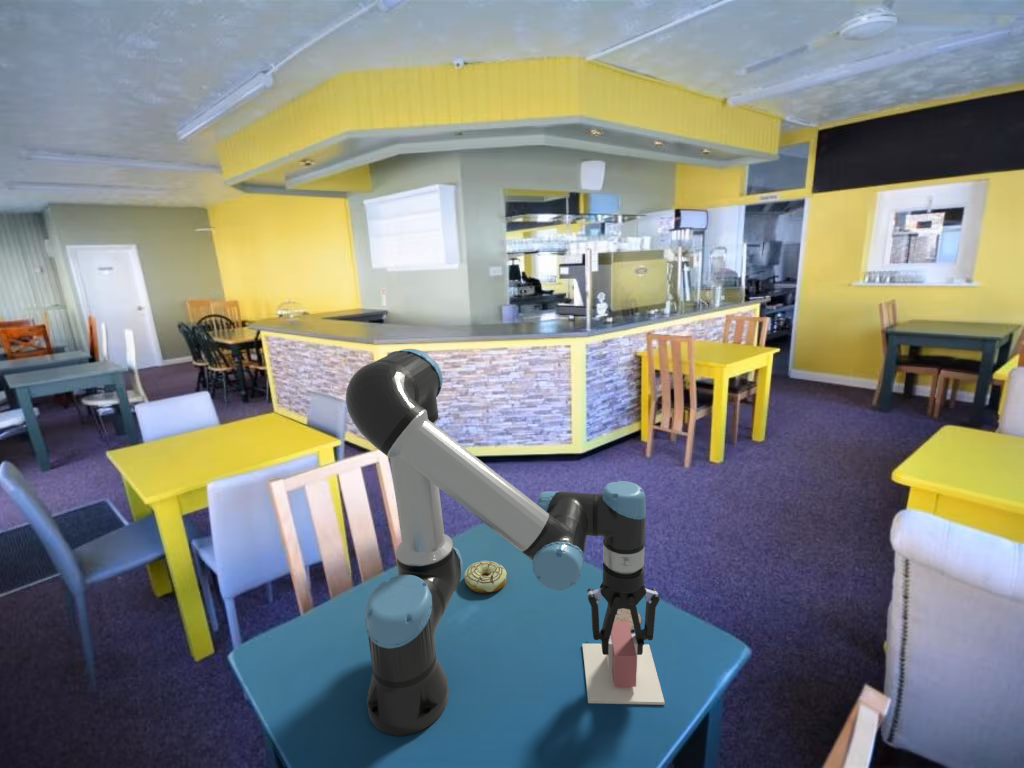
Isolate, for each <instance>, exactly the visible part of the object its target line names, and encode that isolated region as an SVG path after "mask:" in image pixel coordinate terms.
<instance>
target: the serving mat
mask: <svg viewBox="0 0 1024 768" xmlns="http://www.w3.org/2000/svg"><path fill="white" fill-rule="evenodd" d="M581 645H582V656H583V662H584V663H583V664H584V674H585V685H586V694H587V695H586V697H587V703H588V704H607V705H610V704H613V705H615V704H616V705H657V706H658V705H659V706H660V705H661V706H665V698H664V695H663V692H662V687H661V683H660V680H659V677H658V676H659V675H658V673H657V669H656V665H655V661H654V658H653V654H652V650H651V647H650V644H648V643H647V644H645V643H644V645H643V653H642V655H637V672H636V687H615V685H614V679H613V674H612V671H608V664H607V655H603V653H602V643H582V644H581Z"/></svg>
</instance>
